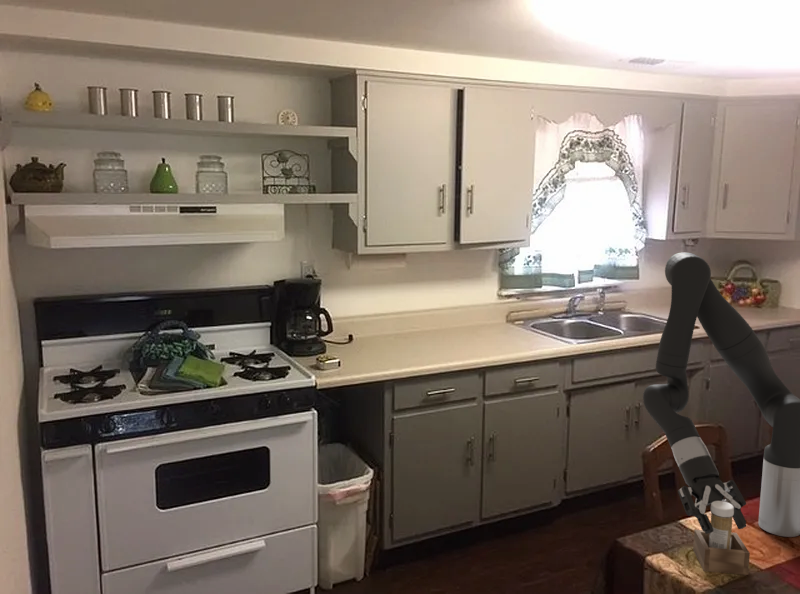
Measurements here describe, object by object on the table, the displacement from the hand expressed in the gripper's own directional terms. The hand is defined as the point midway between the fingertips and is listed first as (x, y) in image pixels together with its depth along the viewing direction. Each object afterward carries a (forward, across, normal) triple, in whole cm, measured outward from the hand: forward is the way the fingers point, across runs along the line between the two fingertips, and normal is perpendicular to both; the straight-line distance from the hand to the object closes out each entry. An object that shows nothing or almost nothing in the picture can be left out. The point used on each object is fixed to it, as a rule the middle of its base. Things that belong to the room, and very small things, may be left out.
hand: (726, 530), depth 148 cm
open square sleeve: (+5, 0, +7) cm, 8 cm away
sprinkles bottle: (+5, 0, +7) cm, 8 cm away
